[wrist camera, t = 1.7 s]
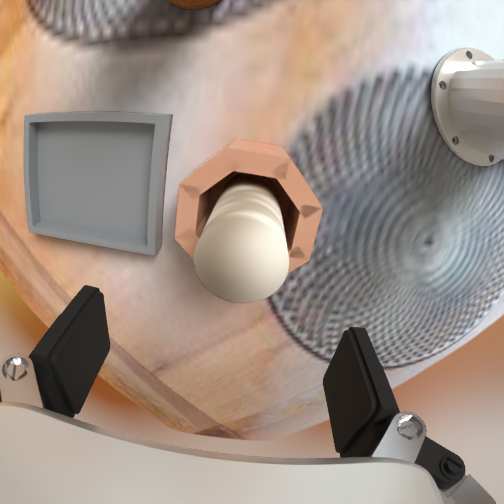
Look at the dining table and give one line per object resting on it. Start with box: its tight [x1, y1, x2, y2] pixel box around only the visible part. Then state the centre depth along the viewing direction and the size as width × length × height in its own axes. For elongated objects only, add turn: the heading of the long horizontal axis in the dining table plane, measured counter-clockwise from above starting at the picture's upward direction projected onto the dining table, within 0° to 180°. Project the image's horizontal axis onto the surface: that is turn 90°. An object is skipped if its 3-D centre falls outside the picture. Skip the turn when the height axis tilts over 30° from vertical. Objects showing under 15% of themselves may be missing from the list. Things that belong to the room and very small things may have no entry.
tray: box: [24, 111, 173, 256], centre depth 26 cm, size 16×13×2 cm
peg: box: [194, 172, 289, 303], centre depth 22 cm, size 5×5×12 cm
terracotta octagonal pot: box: [175, 139, 323, 273], centre depth 25 cm, size 10×10×7 cm
